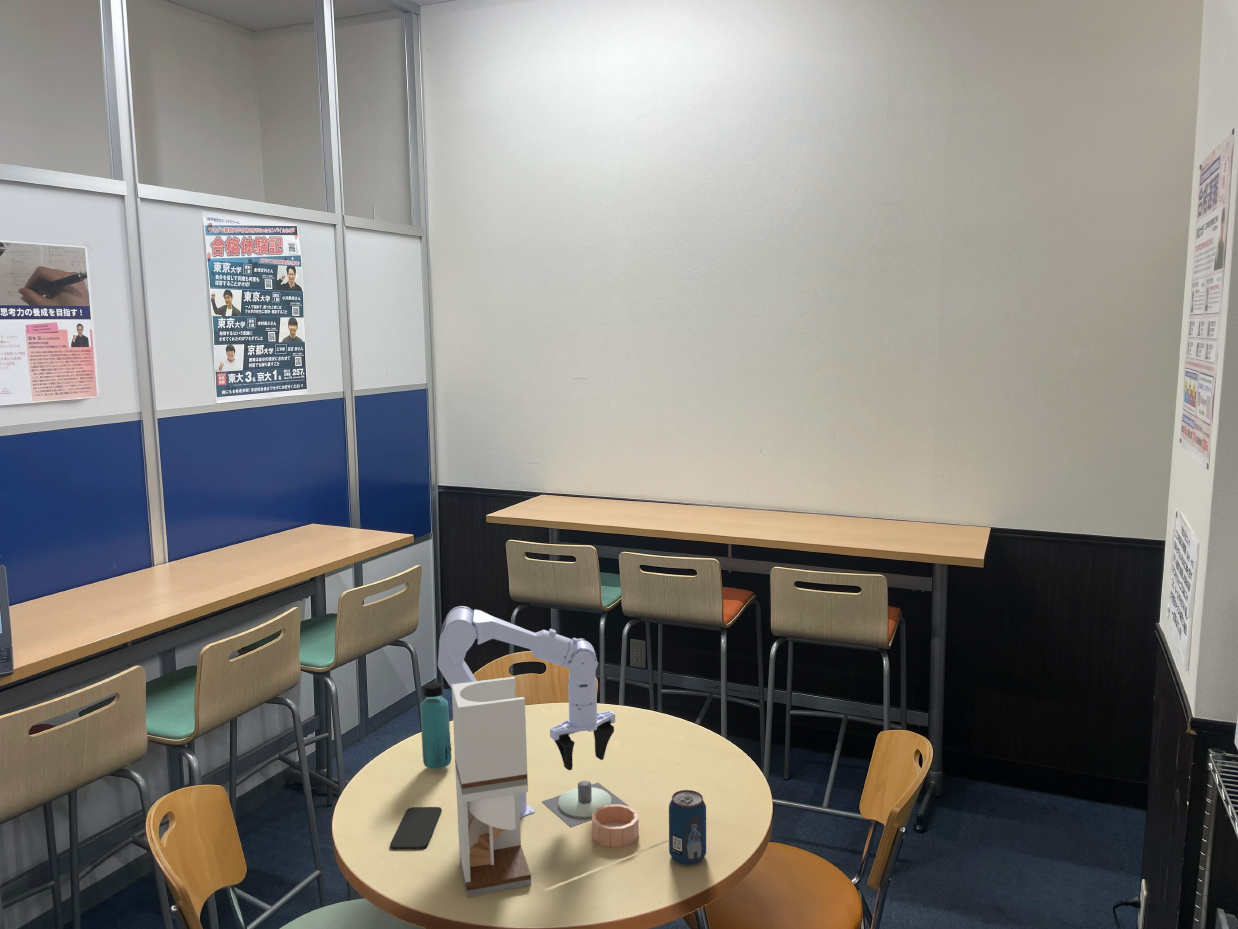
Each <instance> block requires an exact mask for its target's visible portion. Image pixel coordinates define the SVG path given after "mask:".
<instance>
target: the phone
mask: <svg viewBox="0 0 1238 929" xmlns="http://www.w3.org/2000/svg"><path fill="white" fill-rule="evenodd" d="M442 810H443V809H442V808H441V807H439V806H413V807H412V806H411V807H408V808H407V809H406V810H405V812H404V814H403V816H402V818H401V820H400V822H399V825H398V827H397V829H396V831H395V833H394V835H393V838H392V840H391V841H390V843H389V848H390V849H391V850H394V851H395V850H398V851H399V850H401V851H402V850H405V851H406V850H410V851H411V850H415V851H416V850H425V849H427V848H428V847H429V844H430V842H431V839H432V837H433V835H434V832H435V830H436V827H437V825H438V822H439V819H440V817H441V816H442V815H441V814H442Z"/></svg>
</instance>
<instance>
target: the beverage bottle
mask: <svg viewBox="0 0 1238 929" xmlns="http://www.w3.org/2000/svg"><path fill="white" fill-rule="evenodd" d="M423 688H424V689H423V696H424V697H425V699H423V701H422V702H421V703H420V705H419V707H420V724H421V747H422V748H421V749H422V751H421V752H422V753H421V754H422V763H423V765H424V767H426V768H428V769H431V770H439V769H442V768H443V769H444V768H446V767H448V766H449V765H451V763H452V744H451V743H452V741H451V740H452V739H451V731H450V726H451V725H450V716H449V702H448V699H446V698H444V697H443V696H442V695H443V693H444V691H443V685H442V683H440V682H436V681H435V682H433V681H432V682H429V683H426V684H425V685H424V687H423Z"/></svg>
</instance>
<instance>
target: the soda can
mask: <svg viewBox="0 0 1238 929" xmlns="http://www.w3.org/2000/svg"><path fill="white" fill-rule="evenodd" d="M668 852H669V855H670V856H671V858H672V860H673V862H675V863H676V864H677V865H680V866H684V867H694V866H696V865H697V866H698V865H699V864H701V863H702V861H703V860H704V858H705V856H706V855H707V804H706V803H705V801H704V797H703V795H702V794H701V793H700V792H698V791H695V790H693V789H692V790H691V789H683V790H677V791H676V792H675V793H673V794H672V796H671V800H670V801H669V804H668Z"/></svg>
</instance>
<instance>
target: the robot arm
mask: <svg viewBox="0 0 1238 929" xmlns="http://www.w3.org/2000/svg"><path fill="white" fill-rule="evenodd" d="M476 639H477V645H481V644H483V643H485V642H488V641H491V640H496V641H499V642H504V643H507V644H510V645H514V646H518V647H521V648H524V649H528V650H530V651H531V654H532V656H533V657H534V658H536V659H540V660H541V661H545V662H547V663H551V664H553V665H556V666H560V667H563V668H568V673H569V676H568V680H567V685H568V688H567V690H568V719H566V720H565V721H563V722H561V723H560V724H557V725H555V726H552V727H550V728H549V735H550V738H551V739H552V740H553V741H554V742H555V745H556V746H557V748H558V751H559V754H560V756H561V758H562V763H563V767H564V768H565V769H566V770H568V771H572V770H573V752H574V747H575V743H576V742H575V741H574V740H572V739H571V736H570V735H573V734H576V733H579V732H584V731H585V732H586V731H587V732H593V737H594V738H593V739H594V753H595V757H596V758H597V759H598V760H600V761H604V759H605V754H606V750H607V747H608V744H609V741H610V739H611V737H612V735H613V734H614V732H615V727H614V726H613V725H612V724H615V723H616V713H614V712H613V711H611V710H607V711H604V712H603V711H601V712H598V706H597V705H598V704H597V702H598V701H597V700H598V699H597V697H598V696H597V677H596V675H597V674H596V673H597V672H596V671H597V668H598V665H599V662H598V660H597V656H596V655H597V654H596V651H595V649H594V648H595V647H594V646H593V645H592V644H591V642H589V640H586V639H585V638H577V637H572V638H569V637H566V636H564V635H560V634H558V633H557V631H556V630H555V629H553V628H549V630H546V629H542V630H540V631H537V632H534V631H531V630H528V629H525V628H523V627H521V626H518V625H515V624H513V623H512V622H509V621H505V620H504V619H501V618H499V617H495V616H493V615H490V614H489V613H487V612H485V611H483V610H481V609H474V610H473V609H471V607H469V606H464V605H459V606H455V607H453V608H452V609H450V610H449V612H448V613H447V615H446V617H445V619H444V621H443V623H442V627H441V631H440V637H439V640H438V643H439V645H438V657H437V667H438V669H439V671H440V673H441V675H442V676H443V678H444V679H445V681H446V682H447V685H448V686H449V687H450V688H451V690H452V684H459V683H467V682H475V681H478V680H477V679H476V677H475V675H474V674H473V672H472V671H471V669H470V667H469V666H468V664H467V662H466V661H465V658H466V655H467V652H468V651H469V650H470V648H471V647H472V645H474V643H475V640H476ZM527 801H528V800H527V792H525V793H519V803H520V819H522V818H523V817H526V816H529V815H533V814H534V813H535V812H536V811H535V809H534V808H532V806H531V805H529V804H528V803H527Z"/></svg>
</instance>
